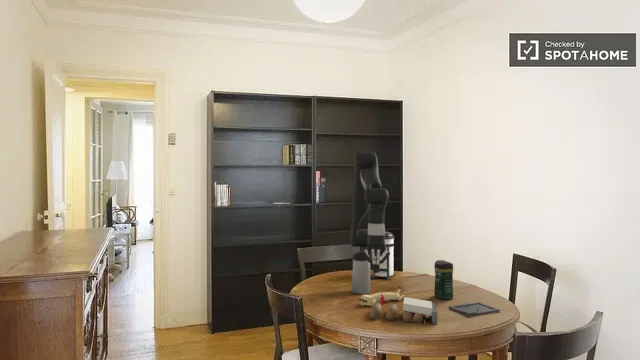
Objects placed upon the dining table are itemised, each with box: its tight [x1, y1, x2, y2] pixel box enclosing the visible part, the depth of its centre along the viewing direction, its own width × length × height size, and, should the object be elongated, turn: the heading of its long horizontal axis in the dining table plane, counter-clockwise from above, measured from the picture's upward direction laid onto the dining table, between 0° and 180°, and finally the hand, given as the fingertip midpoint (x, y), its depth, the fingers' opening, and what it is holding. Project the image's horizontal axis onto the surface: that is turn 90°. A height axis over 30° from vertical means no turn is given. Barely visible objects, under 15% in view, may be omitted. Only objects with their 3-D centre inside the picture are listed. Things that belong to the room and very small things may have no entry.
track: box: [369, 301, 427, 325], centre depth 195 cm, size 23×12×4 cm, turn 76°
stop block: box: [431, 303, 438, 325], centre depth 191 cm, size 2×12×5 cm, turn 166°
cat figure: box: [358, 284, 406, 307], centre depth 216 cm, size 10×9×25 cm
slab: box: [402, 296, 433, 316], centre depth 193 cm, size 12×10×3 cm
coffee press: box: [371, 231, 396, 281], centre depth 268 cm, size 17×16×30 cm
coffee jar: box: [433, 259, 454, 300], centre depth 226 cm, size 10×8×19 cm
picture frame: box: [448, 301, 501, 318], centre depth 205 cm, size 13×2×18 cm
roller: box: [413, 312, 424, 324], centre depth 193 cm, size 4×12×4 cm
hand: (376, 272), depth 197 cm, fingers closed
